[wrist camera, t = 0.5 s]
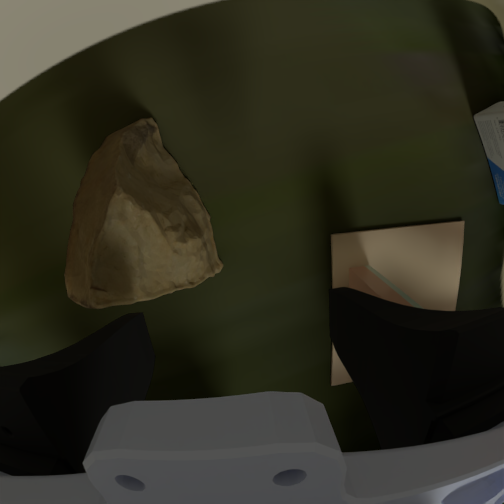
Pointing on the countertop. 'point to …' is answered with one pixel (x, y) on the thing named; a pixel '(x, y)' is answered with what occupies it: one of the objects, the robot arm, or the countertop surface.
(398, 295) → the tile
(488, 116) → the ink box
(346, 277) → the mat
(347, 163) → the countertop surface
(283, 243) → the countertop surface
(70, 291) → the rock
